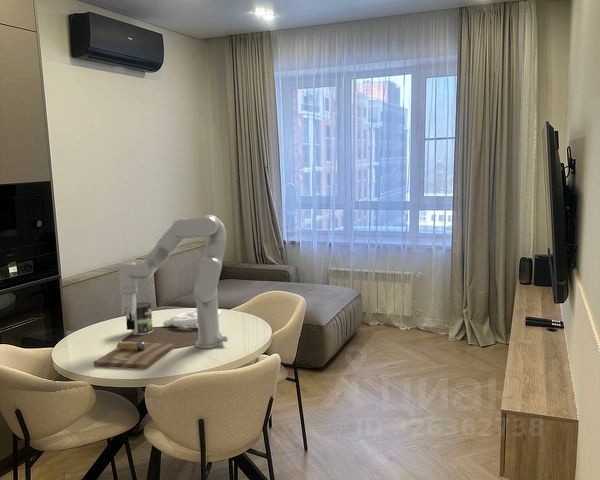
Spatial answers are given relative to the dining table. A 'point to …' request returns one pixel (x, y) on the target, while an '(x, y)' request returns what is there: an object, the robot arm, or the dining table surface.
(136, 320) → the coffee can
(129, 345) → the peg
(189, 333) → the dining table surface
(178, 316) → the pretzel
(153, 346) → the tuner board
